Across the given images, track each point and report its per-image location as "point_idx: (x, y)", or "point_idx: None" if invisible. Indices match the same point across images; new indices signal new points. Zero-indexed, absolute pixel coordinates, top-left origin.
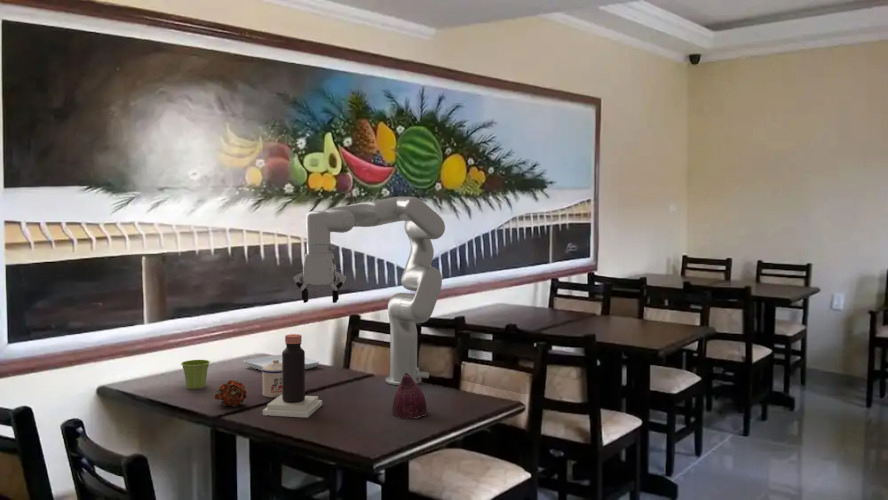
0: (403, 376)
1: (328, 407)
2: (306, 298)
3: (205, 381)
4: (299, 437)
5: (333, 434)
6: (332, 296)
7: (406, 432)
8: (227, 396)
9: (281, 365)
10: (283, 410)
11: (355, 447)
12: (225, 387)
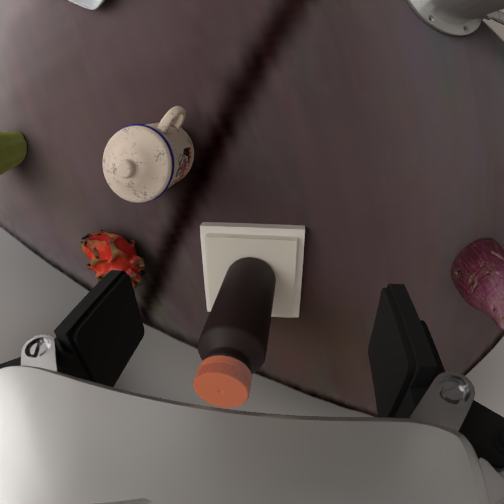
0: (499, 326)
1: (323, 241)
2: (127, 332)
3: (20, 145)
4: (310, 389)
5: (357, 375)
6: (374, 389)
7: (456, 351)
8: None
9: (149, 173)
10: None
11: None
12: None
